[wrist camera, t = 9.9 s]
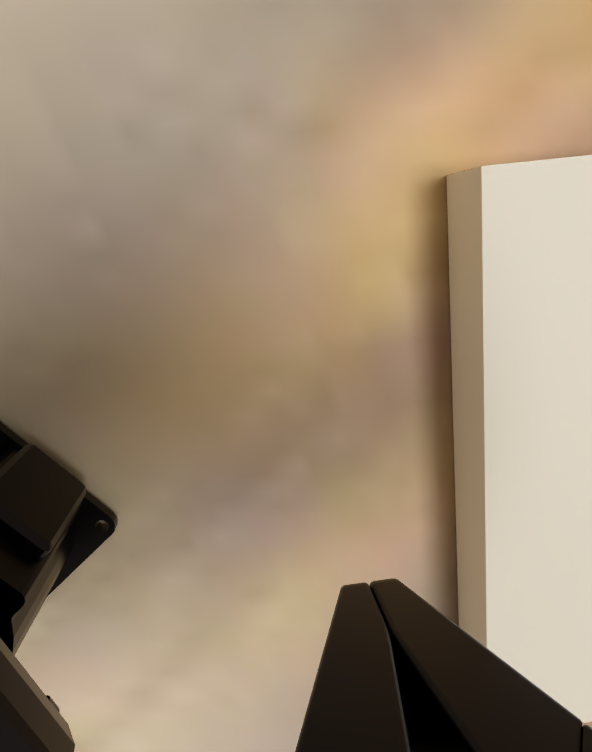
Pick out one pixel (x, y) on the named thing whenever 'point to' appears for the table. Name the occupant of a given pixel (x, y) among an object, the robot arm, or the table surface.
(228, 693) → the table surface
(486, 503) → the cream slab
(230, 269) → the table surface
